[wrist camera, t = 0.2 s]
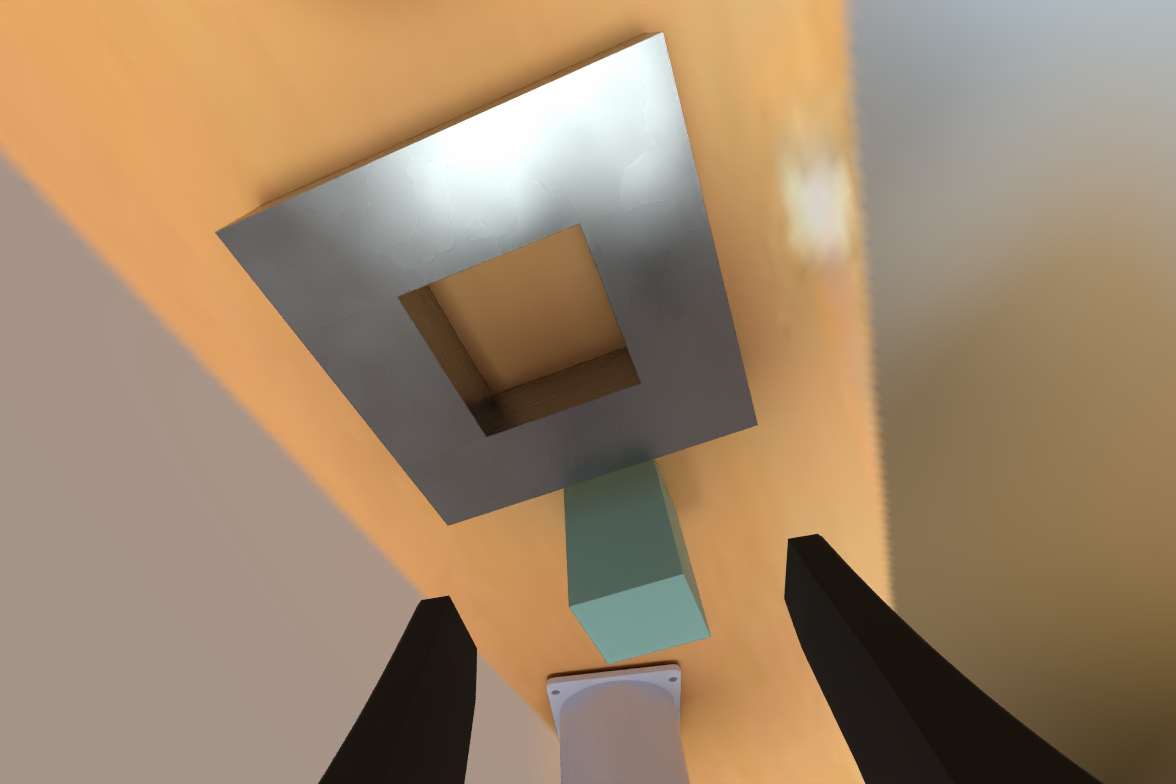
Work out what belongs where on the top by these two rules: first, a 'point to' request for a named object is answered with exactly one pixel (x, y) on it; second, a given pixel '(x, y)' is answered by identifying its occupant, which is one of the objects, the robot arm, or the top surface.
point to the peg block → (630, 565)
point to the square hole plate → (494, 227)
